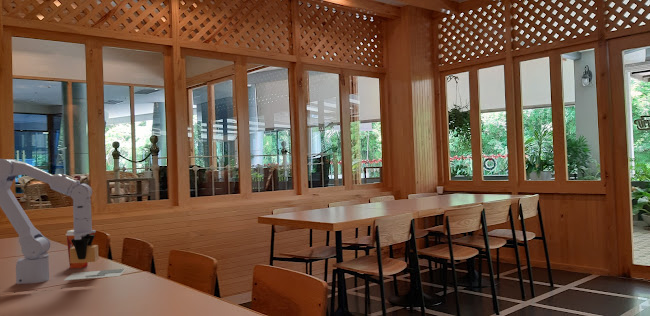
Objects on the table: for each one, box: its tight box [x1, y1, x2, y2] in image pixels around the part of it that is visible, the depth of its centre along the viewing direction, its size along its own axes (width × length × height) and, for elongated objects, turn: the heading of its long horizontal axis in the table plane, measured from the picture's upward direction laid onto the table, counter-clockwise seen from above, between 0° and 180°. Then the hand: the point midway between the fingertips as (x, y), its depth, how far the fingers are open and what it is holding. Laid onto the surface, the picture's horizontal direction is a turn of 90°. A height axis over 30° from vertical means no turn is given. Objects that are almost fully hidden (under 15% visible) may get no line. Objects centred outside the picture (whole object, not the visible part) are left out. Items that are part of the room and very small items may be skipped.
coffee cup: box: [65, 229, 89, 269], centre depth 196 cm, size 8×8×15 cm
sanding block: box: [70, 244, 100, 263], centre depth 177 cm, size 8×5×5 cm, turn 102°
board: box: [63, 268, 126, 281], centre depth 181 cm, size 18×12×1 cm, turn 102°
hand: (83, 257), depth 177 cm, fingers closed on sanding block, 5 cm apart
